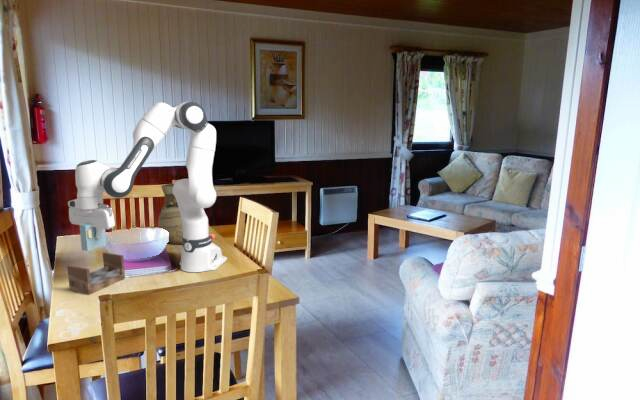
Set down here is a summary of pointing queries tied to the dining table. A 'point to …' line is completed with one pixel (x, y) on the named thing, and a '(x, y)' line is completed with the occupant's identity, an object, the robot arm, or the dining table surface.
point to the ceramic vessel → (171, 216)
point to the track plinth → (97, 275)
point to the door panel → (91, 237)
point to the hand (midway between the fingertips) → (93, 237)
